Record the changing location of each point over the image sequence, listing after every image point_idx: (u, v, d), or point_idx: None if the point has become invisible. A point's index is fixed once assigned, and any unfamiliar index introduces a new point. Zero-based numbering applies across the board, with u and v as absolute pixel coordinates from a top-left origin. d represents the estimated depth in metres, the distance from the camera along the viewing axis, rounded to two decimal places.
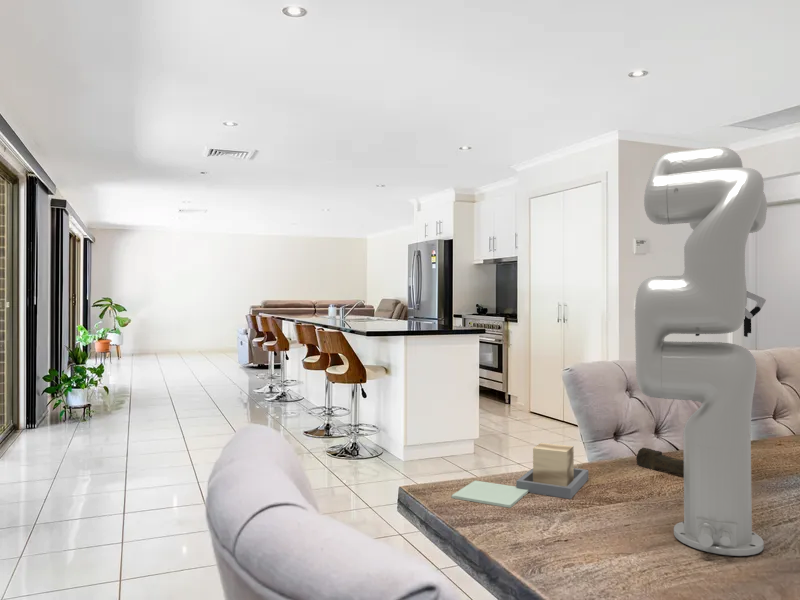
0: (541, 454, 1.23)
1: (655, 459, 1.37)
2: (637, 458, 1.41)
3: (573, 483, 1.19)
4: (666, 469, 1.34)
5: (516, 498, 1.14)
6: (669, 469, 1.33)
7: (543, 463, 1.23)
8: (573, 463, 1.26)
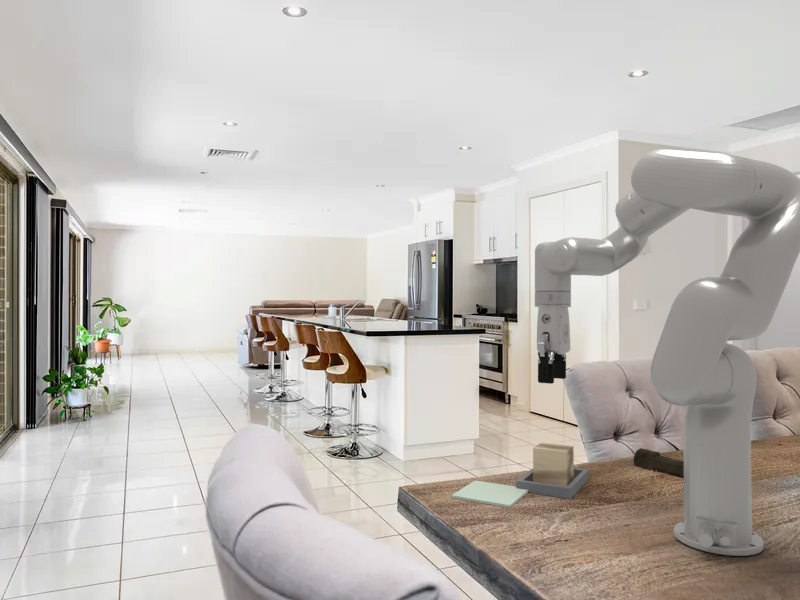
0: (541, 454, 1.23)
1: (653, 459, 1.36)
2: (634, 459, 1.41)
3: (573, 483, 1.19)
4: (665, 469, 1.34)
5: (516, 498, 1.14)
6: (668, 470, 1.33)
7: (543, 463, 1.23)
8: (573, 463, 1.26)
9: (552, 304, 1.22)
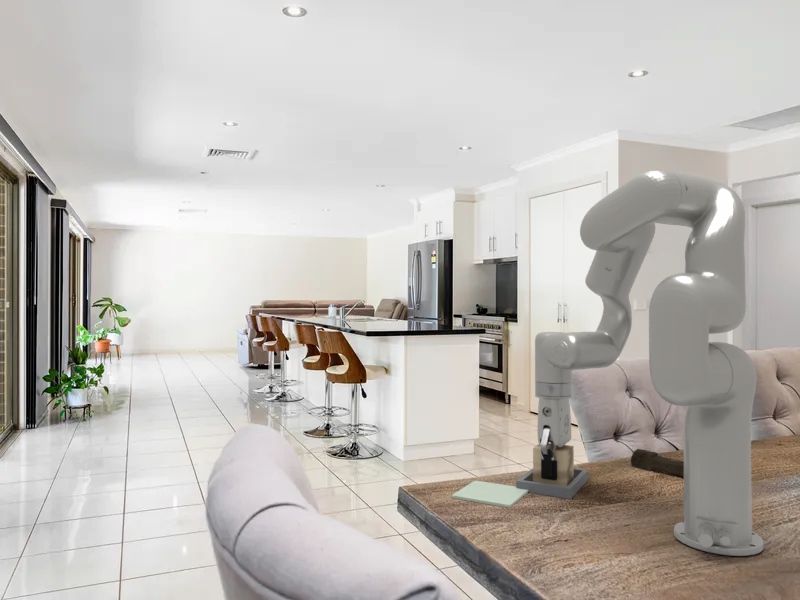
0: None
1: (652, 460, 1.35)
2: (632, 460, 1.40)
3: (573, 483, 1.19)
4: (664, 470, 1.33)
5: (516, 498, 1.14)
6: (667, 470, 1.33)
7: None
8: (573, 463, 1.26)
9: (553, 396, 1.22)
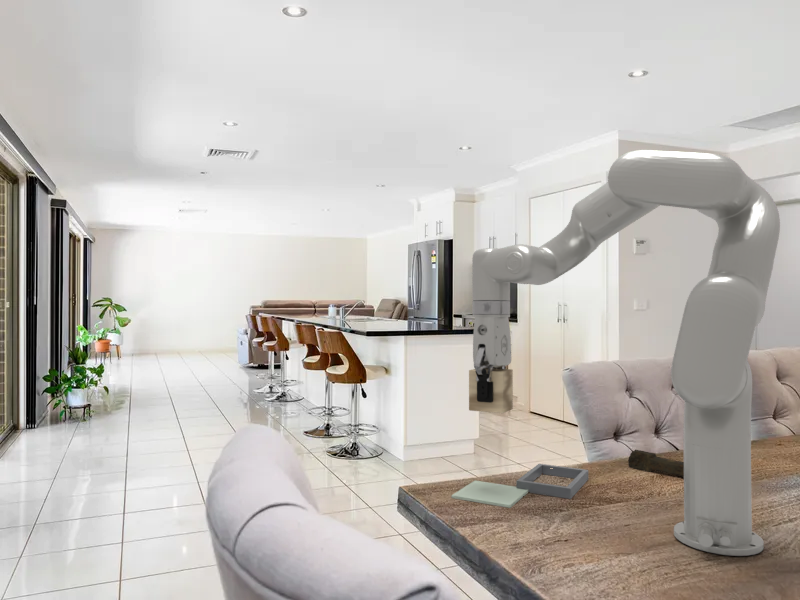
0: None
1: (651, 461, 1.35)
2: (629, 461, 1.39)
3: (573, 483, 1.19)
4: (663, 470, 1.33)
5: (516, 498, 1.14)
6: (666, 471, 1.32)
7: None
8: (512, 387, 1.19)
9: (489, 314, 1.15)
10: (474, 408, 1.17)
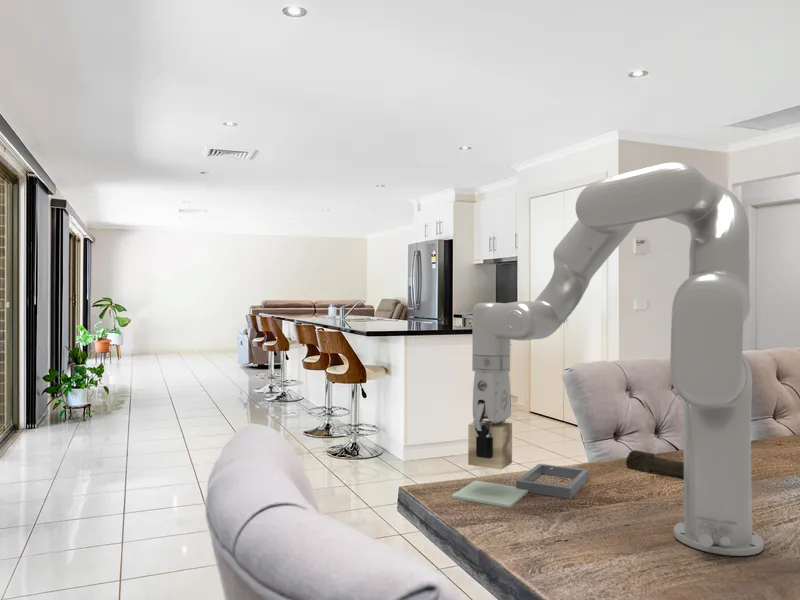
0: None
1: (650, 461, 1.34)
2: (628, 461, 1.39)
3: (573, 483, 1.19)
4: (662, 471, 1.32)
5: (516, 498, 1.14)
6: (666, 471, 1.32)
7: None
8: (511, 441, 1.19)
9: (488, 370, 1.15)
10: (473, 463, 1.17)
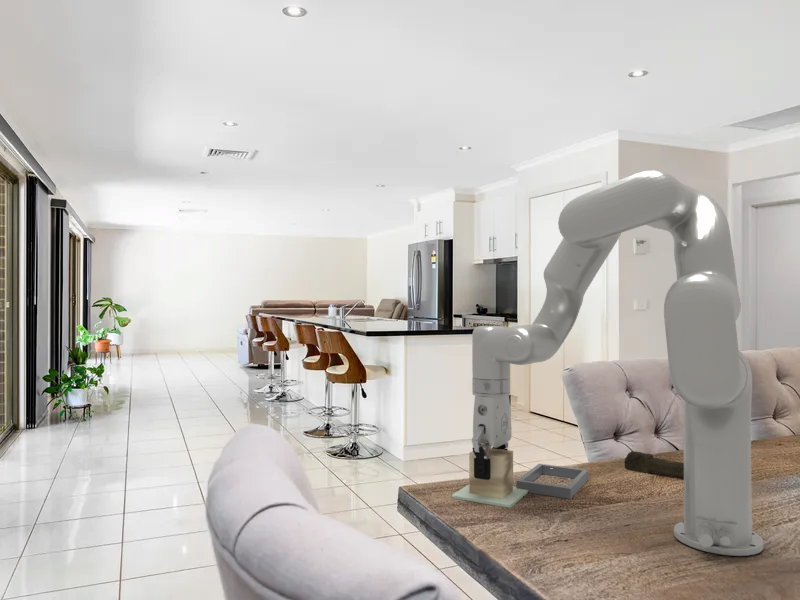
0: None
1: (649, 462, 1.34)
2: (626, 462, 1.38)
3: (573, 483, 1.19)
4: (662, 472, 1.32)
5: (516, 498, 1.14)
6: (665, 472, 1.31)
7: None
8: None
9: (489, 394, 1.15)
10: (474, 492, 1.17)
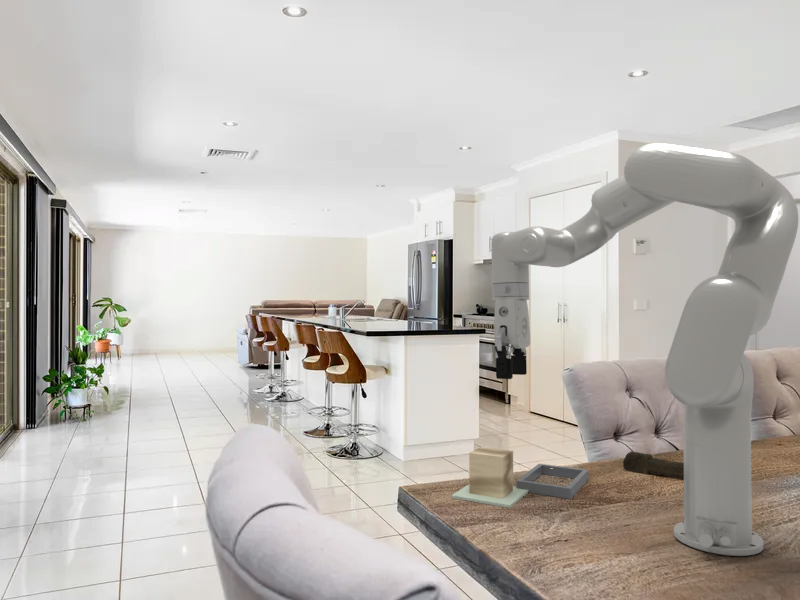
0: (478, 459, 1.17)
1: (648, 462, 1.33)
2: (625, 463, 1.37)
3: (573, 483, 1.19)
4: (661, 472, 1.31)
5: (516, 498, 1.14)
6: (665, 472, 1.31)
7: (479, 468, 1.16)
8: None
9: (509, 296, 1.17)
10: (474, 492, 1.17)
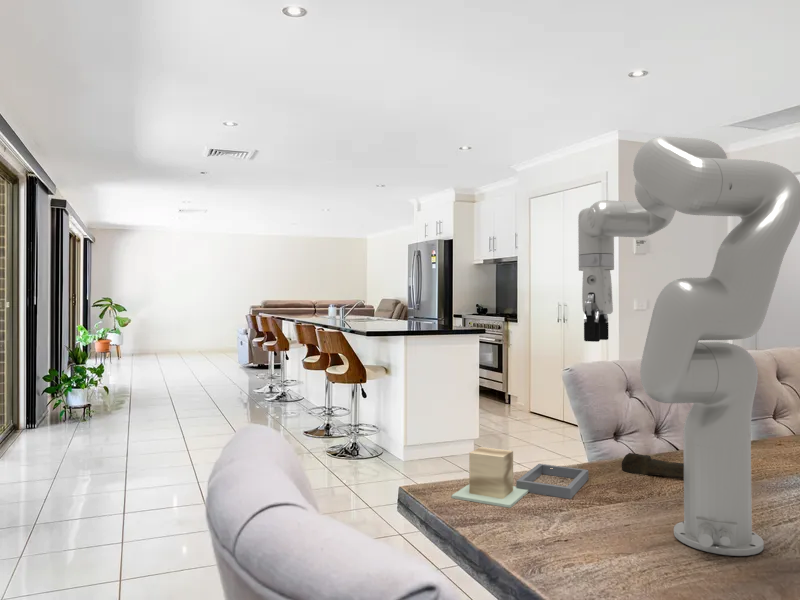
0: (478, 459, 1.17)
1: (648, 464, 1.32)
2: (623, 464, 1.36)
3: (573, 483, 1.19)
4: (661, 473, 1.31)
5: (516, 498, 1.14)
6: (665, 473, 1.30)
7: (479, 468, 1.16)
8: None
9: (597, 266, 1.28)
10: (474, 492, 1.17)
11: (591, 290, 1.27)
